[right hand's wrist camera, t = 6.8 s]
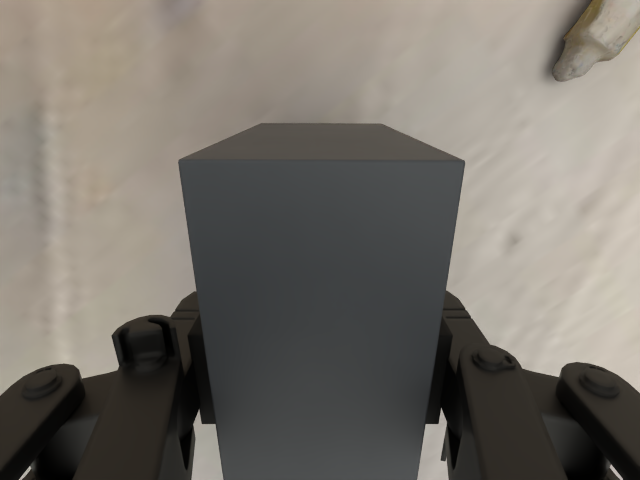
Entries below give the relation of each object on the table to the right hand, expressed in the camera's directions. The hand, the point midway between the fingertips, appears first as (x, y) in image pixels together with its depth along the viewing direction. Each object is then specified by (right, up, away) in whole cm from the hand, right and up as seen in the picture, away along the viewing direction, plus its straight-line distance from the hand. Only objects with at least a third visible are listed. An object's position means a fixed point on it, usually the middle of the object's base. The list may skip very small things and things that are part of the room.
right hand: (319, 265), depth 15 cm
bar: (0, -23, +10) cm, 25 cm away
